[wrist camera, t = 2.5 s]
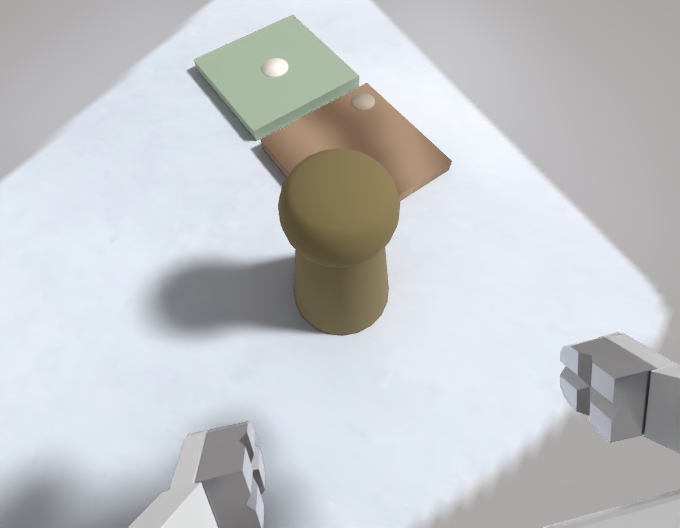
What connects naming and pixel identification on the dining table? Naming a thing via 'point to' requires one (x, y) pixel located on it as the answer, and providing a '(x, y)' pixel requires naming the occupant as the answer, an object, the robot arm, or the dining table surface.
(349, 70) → the tile one
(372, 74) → the dining table surface
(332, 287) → the cork
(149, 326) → the dining table surface
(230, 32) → the dining table surface
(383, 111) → the tile two
